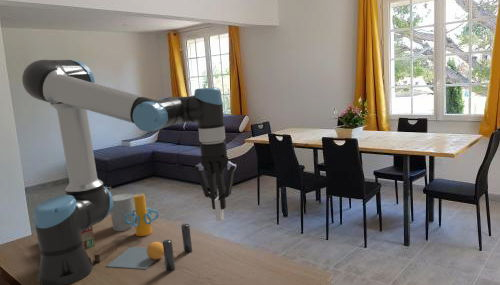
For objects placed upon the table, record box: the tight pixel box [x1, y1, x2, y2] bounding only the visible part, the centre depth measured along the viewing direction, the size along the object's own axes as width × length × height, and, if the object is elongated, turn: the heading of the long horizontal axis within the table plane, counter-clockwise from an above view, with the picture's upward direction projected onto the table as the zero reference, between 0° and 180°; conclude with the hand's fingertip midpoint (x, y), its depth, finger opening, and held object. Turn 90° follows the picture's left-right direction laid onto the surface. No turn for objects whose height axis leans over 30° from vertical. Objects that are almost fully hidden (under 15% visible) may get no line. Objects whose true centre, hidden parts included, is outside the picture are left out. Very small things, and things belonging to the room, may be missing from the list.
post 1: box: [162, 239, 176, 273], centre depth 119 cm, size 3×3×9 cm
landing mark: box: [106, 246, 156, 270], centre depth 129 cm, size 14×14×1 cm
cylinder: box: [125, 193, 159, 237], centre depth 149 cm, size 12×10×15 cm
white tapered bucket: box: [110, 192, 136, 232], centre depth 158 cm, size 10×10×12 cm
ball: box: [146, 241, 164, 261], centre depth 127 cm, size 6×6×6 cm
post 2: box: [181, 223, 193, 254], centre depth 130 cm, size 3×3×9 cm
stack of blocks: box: [81, 226, 96, 250], centre depth 147 cm, size 21×6×12 cm, turn 43°
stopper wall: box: [93, 242, 118, 263], centre depth 133 cm, size 2×9×2 cm, turn 164°
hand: (220, 219), depth 119 cm, fingers closed
